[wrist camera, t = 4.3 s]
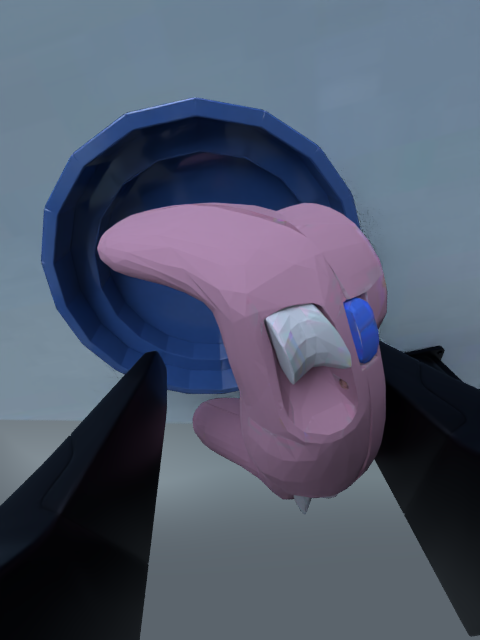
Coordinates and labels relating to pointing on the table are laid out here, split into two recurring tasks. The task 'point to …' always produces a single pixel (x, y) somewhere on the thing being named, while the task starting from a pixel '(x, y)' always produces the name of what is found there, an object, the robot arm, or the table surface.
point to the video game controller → (277, 333)
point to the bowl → (162, 191)
